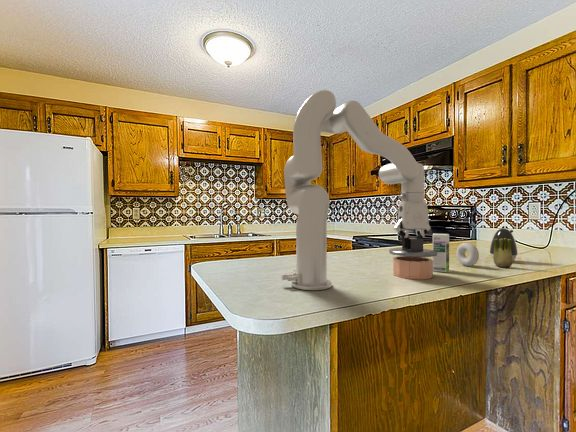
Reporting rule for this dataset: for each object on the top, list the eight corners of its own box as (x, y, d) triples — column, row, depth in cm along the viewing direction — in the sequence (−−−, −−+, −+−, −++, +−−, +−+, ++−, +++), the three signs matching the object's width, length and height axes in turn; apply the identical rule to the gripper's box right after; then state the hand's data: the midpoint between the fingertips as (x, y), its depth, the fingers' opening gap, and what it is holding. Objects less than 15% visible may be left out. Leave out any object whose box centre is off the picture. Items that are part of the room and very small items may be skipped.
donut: (481, 268, 117) (481, 243, 117) (474, 268, 116) (474, 244, 116) (460, 263, 127) (460, 241, 127) (454, 264, 126) (454, 241, 126)
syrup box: (432, 271, 111) (432, 234, 111) (432, 268, 116) (432, 232, 116) (449, 272, 108) (449, 234, 108) (448, 270, 114) (448, 233, 113)
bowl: (408, 280, 96) (408, 262, 96) (386, 272, 109) (386, 256, 109) (440, 278, 100) (440, 261, 100) (415, 270, 112) (415, 255, 112)
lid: (407, 258, 95) (407, 241, 94) (380, 251, 110) (380, 237, 110) (448, 255, 99) (448, 239, 98) (416, 249, 114) (416, 235, 114)
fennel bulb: (492, 266, 120) (492, 238, 120) (497, 265, 123) (498, 237, 122) (508, 269, 115) (508, 239, 115) (514, 267, 118) (514, 238, 117)
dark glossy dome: (523, 262, 129) (523, 228, 129) (505, 263, 127) (505, 229, 127) (501, 259, 139) (502, 227, 139) (484, 259, 137) (484, 228, 136)
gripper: (398, 197, 98) (398, 250, 98) (440, 197, 102) (440, 248, 103) (385, 198, 105) (385, 248, 106) (425, 198, 110) (425, 246, 110)
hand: (412, 247), depth 104 cm, fingers closed on lid, 5 cm apart
